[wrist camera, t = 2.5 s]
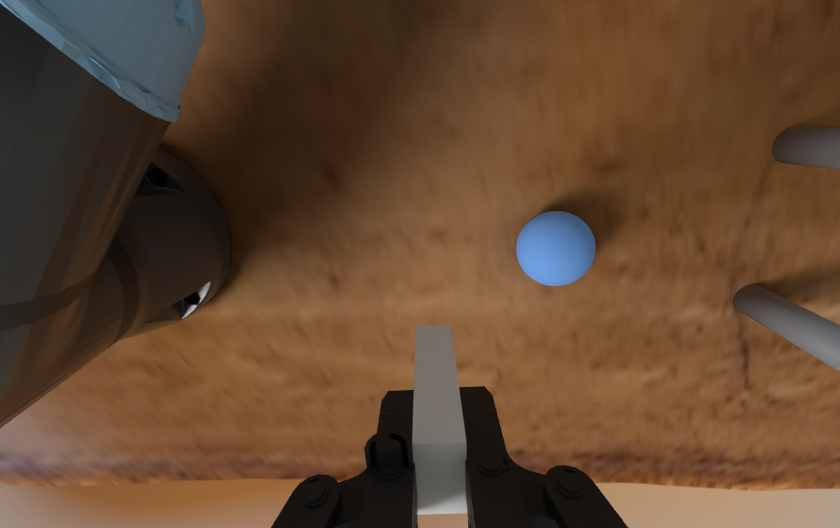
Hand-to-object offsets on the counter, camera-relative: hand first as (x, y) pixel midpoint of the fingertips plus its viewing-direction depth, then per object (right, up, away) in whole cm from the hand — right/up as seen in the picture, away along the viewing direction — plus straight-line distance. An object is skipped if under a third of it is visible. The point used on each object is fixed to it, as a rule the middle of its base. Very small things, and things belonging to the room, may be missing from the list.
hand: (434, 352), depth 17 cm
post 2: (+28, +1, +16) cm, 32 cm away
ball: (+9, +5, +12) cm, 16 cm away
